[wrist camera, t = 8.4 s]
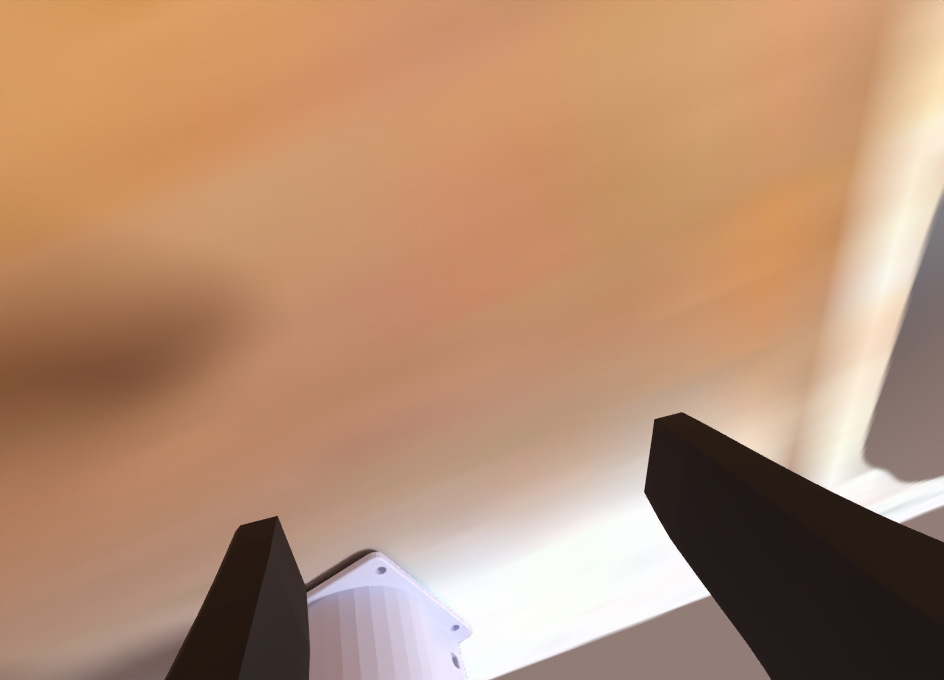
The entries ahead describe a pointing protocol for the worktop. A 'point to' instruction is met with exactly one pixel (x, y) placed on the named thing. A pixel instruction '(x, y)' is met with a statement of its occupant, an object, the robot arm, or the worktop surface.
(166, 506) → the worktop surface
